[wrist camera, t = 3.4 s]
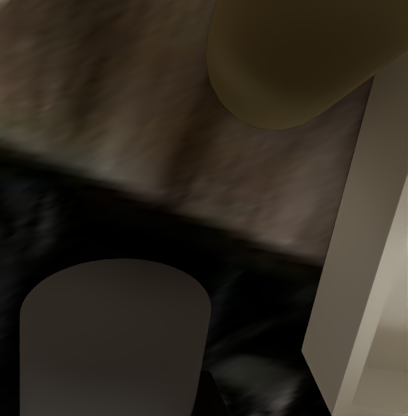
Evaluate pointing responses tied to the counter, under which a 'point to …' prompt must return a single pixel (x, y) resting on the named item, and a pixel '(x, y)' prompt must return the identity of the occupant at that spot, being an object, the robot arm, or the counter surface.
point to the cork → (299, 54)
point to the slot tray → (368, 267)
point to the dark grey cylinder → (113, 341)
